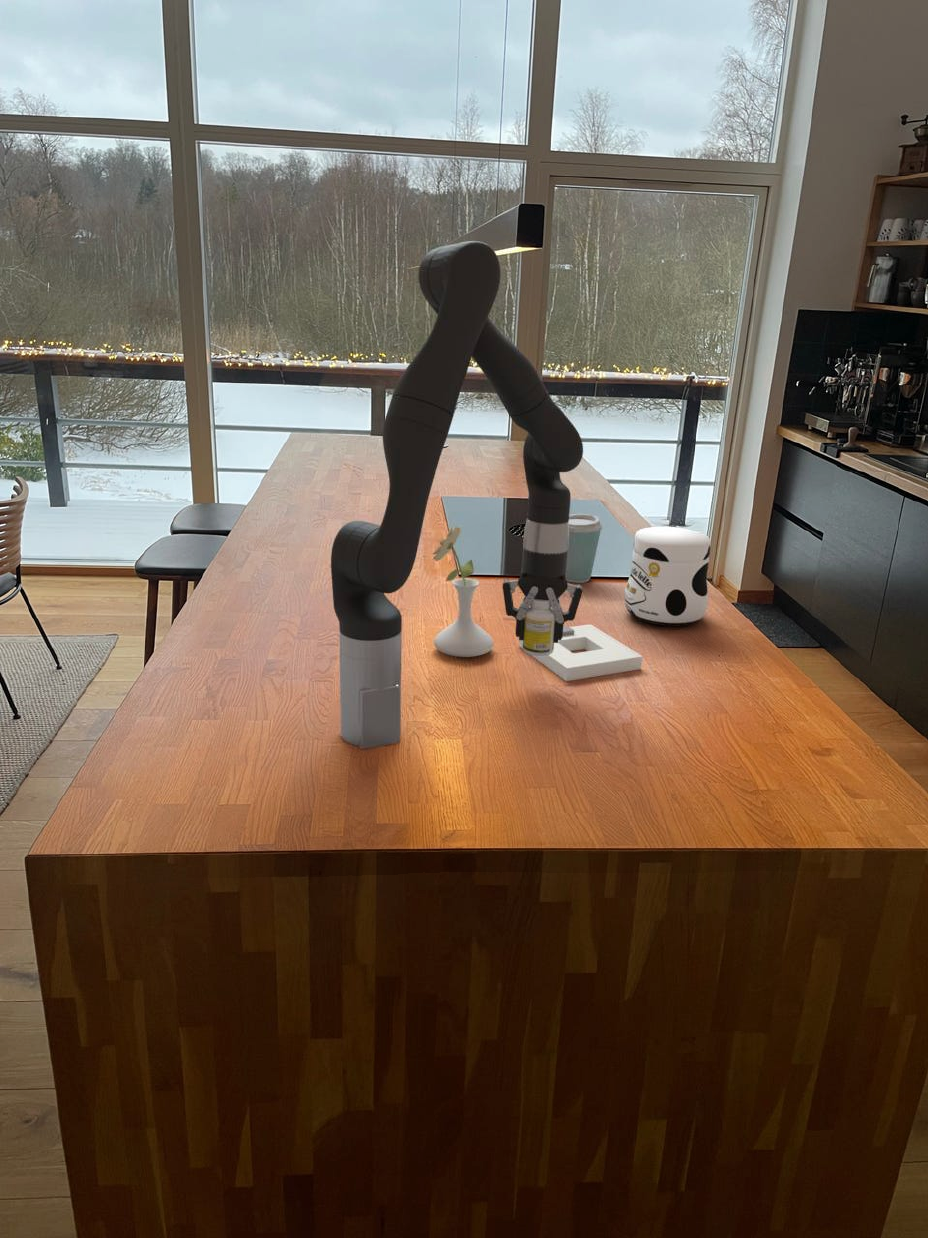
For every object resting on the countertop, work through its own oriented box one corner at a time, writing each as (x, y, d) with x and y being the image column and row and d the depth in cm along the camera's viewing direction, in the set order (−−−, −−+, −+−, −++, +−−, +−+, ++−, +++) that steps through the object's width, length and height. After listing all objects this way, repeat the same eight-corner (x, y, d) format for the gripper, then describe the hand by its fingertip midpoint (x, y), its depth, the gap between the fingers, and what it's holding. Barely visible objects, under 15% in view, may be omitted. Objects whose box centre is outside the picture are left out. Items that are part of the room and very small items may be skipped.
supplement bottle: (534, 643, 169) (538, 590, 166) (559, 651, 166) (563, 598, 162) (515, 650, 165) (519, 597, 162) (541, 659, 162) (545, 604, 158)
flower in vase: (463, 636, 188) (467, 512, 179) (505, 652, 180) (512, 524, 172) (414, 652, 179) (416, 523, 170) (456, 670, 171) (460, 536, 163)
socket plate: (641, 669, 175) (642, 652, 173) (565, 681, 168) (567, 664, 167) (589, 635, 190) (590, 620, 189) (518, 646, 183) (519, 630, 182)
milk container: (606, 616, 201) (614, 534, 195) (651, 599, 213) (659, 521, 207) (678, 638, 190) (688, 552, 184) (720, 618, 202) (731, 537, 196)
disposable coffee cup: (576, 588, 219) (581, 525, 213) (543, 577, 226) (547, 516, 221) (607, 580, 225) (612, 519, 220) (573, 569, 233) (578, 510, 228)
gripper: (588, 543, 162) (579, 636, 167) (504, 537, 163) (498, 630, 169) (589, 554, 155) (580, 651, 160) (501, 548, 156) (495, 644, 162)
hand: (538, 639), depth 165 cm, fingers closed on supplement bottle, 5 cm apart
